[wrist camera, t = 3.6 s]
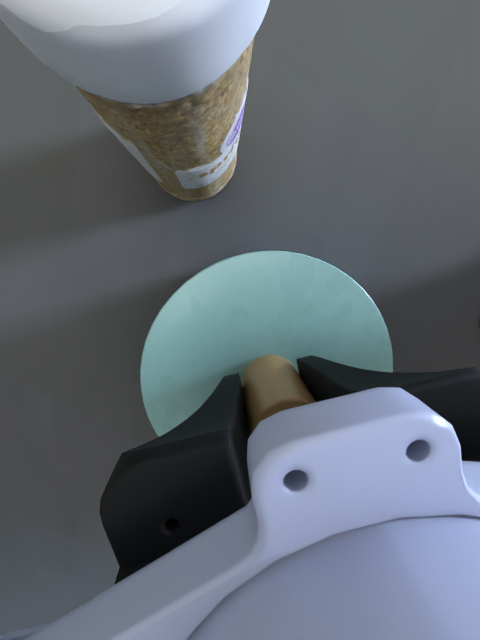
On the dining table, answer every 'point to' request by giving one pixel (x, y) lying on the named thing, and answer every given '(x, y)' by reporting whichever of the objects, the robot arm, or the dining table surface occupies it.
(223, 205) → the dining table surface
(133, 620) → the robot arm
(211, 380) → the tin lid
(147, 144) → the sprinkles bottle
